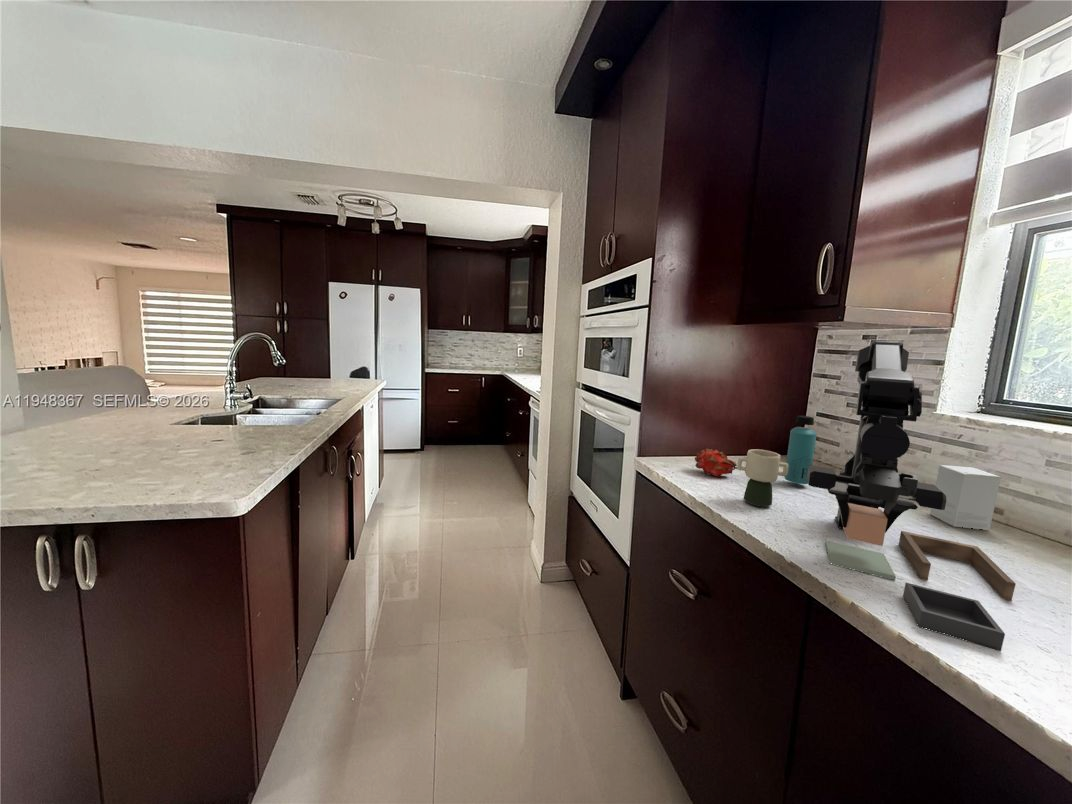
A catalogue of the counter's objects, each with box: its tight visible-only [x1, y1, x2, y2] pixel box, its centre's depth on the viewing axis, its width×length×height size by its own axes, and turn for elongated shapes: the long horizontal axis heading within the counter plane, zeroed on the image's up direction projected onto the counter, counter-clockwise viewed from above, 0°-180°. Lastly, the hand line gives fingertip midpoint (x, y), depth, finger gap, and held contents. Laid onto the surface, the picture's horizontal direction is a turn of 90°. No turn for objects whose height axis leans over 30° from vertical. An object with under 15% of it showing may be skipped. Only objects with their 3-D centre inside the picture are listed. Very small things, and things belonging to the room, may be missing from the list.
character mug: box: [736, 448, 788, 508], centre depth 100 cm, size 11×7×13 cm, turn 69°
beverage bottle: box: [783, 415, 818, 485], centre depth 115 cm, size 6×7×20 cm
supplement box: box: [929, 464, 1002, 531], centre depth 94 cm, size 7×7×13 cm
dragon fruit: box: [694, 448, 738, 479], centre depth 122 cm, size 8×8×12 cm
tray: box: [902, 582, 1006, 652], centre depth 59 cm, size 8×8×2 cm
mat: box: [824, 539, 897, 581], centre depth 75 cm, size 9×9×1 cm
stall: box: [898, 530, 1017, 602], centre depth 74 cm, size 11×14×3 cm
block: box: [842, 503, 888, 547], centre depth 74 cm, size 5×5×5 cm
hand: (862, 530), depth 75 cm, fingers closed on block, 5 cm apart
